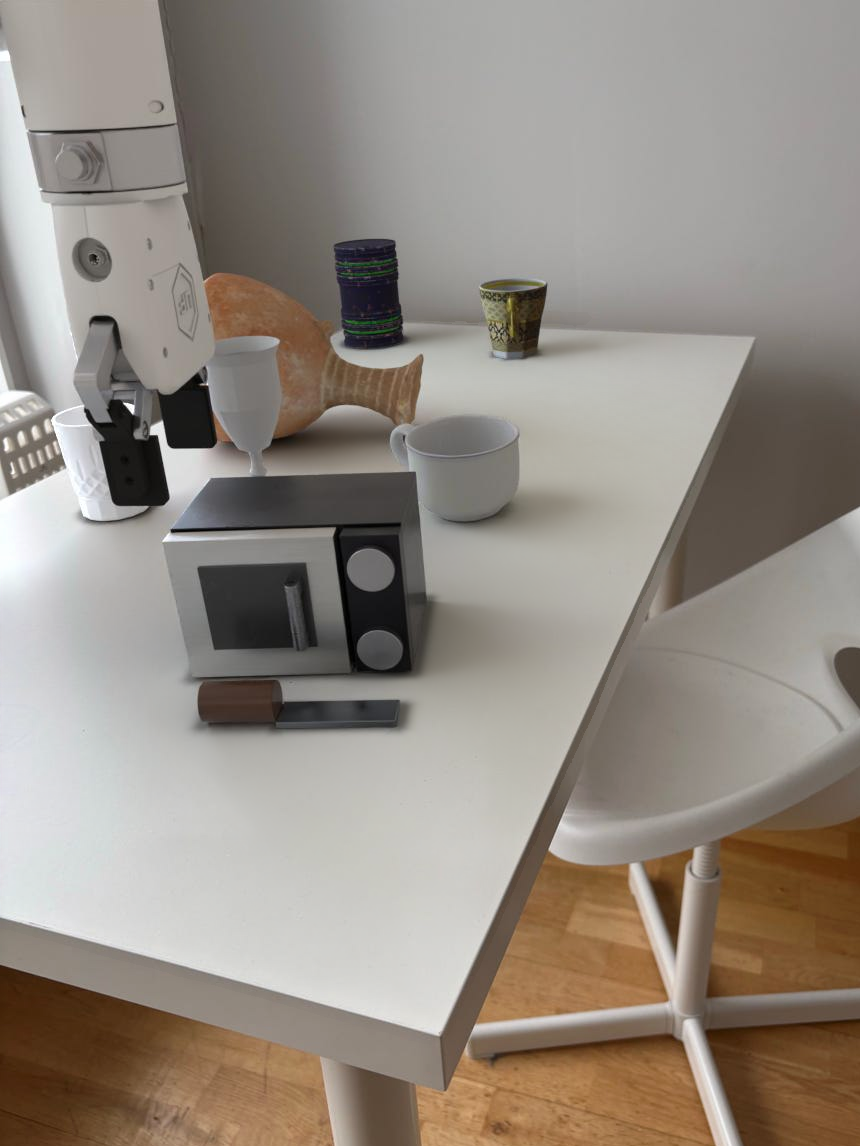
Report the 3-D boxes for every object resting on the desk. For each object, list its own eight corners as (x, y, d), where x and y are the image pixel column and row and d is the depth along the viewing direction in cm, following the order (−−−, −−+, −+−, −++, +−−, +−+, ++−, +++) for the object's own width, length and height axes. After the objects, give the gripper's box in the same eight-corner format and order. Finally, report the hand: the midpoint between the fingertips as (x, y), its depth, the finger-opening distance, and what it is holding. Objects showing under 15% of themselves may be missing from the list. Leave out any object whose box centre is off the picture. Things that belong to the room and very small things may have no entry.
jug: (197, 315, 129) (432, 334, 129) (180, 459, 127) (418, 478, 126) (147, 233, 109) (424, 255, 109) (125, 402, 107) (408, 424, 107)
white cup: (112, 529, 99) (88, 430, 94) (60, 516, 103) (34, 420, 98) (172, 502, 105) (152, 407, 100) (121, 490, 109) (99, 398, 104)
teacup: (544, 506, 99) (543, 426, 95) (464, 542, 92) (458, 457, 88) (448, 475, 107) (442, 401, 104) (368, 506, 101) (359, 428, 97)
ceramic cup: (483, 347, 157) (480, 279, 152) (548, 344, 156) (546, 276, 151) (480, 368, 145) (476, 296, 140) (549, 366, 145) (548, 293, 140)
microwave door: (347, 685, 71) (328, 546, 66) (185, 690, 72) (153, 552, 66) (354, 661, 74) (336, 526, 69) (198, 666, 75) (168, 532, 69)
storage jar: (342, 337, 167) (330, 241, 160) (401, 332, 168) (392, 236, 161) (346, 351, 159) (334, 250, 151) (408, 345, 160) (399, 245, 153)
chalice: (249, 562, 91) (213, 360, 82) (218, 539, 95) (181, 346, 87) (321, 539, 94) (294, 344, 85) (288, 519, 99) (259, 332, 90)
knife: (202, 731, 67) (194, 695, 66) (213, 707, 70) (206, 673, 68) (395, 727, 66) (391, 691, 65) (400, 704, 69) (397, 669, 68)
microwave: (410, 679, 72) (396, 536, 66) (189, 683, 73) (158, 543, 67) (426, 599, 82) (416, 471, 77) (234, 604, 84) (210, 477, 78)
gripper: (120, 182, 46) (186, 530, 54) (224, 151, 61) (263, 428, 69) (-40, 186, 46) (50, 531, 55) (103, 155, 61) (156, 429, 70)
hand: (169, 473), depth 62 cm, fingers open, 9 cm apart
